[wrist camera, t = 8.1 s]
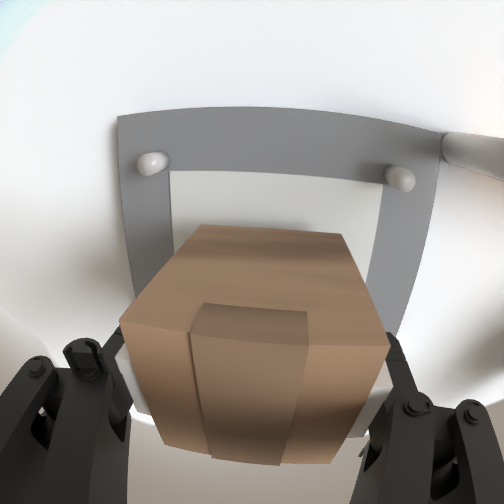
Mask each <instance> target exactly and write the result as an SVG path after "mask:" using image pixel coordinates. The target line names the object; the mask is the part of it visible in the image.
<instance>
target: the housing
mask: <svg viewBox="0 0 504 504" xmlns="http://www.w3.org/2000/svg"><path fill="white" fill-rule="evenodd" d="M441 140H442V142H441ZM440 151H441V152H442V155H443V157H444V159H445V160H446V161H447V162H448V163H450V164H453V165H456V166H460V167H463V168H466V169H469V170H473V171H476V172H479V173H482V174H485V175H488V176H490V177H493V178H496V179H499V180H502V181H504V138H498V137H491V136H484V135H475V134H466V133H456V132H450V133H447V134H446V135H445V136H444V137H443V139H442V134H440V133H437V132H433V131H429V130H426V129H422V128H417V127H413V126H409V125H405V124H400V123H395V122H390V121H385V120H380V119H375V118H369V117H363V116H356V115H350V114H342V113H335V112H326V111H316V110H305V109H292V108H274V107H205V108H187V109H174V110H163V111H153V112H145V113H137V114H130V115H123V116H118V160H119V178H120V191H121V202H122V212H123V221H124V229H125V237H126V244H127V251H128V257H129V263H130V269H131V275H132V281H133V286H134V291H135V296H136V298H137V297H138V296H139V294H140V293H141V292H142V291H143V290H144V288H145V287H146V286H147V285H148V284H149V283H150V281H151V280H152V279H153V278H154V277H155V276H156V274H157V273H158V272H159V271H160V270H161V269H162V267H163V266H164V265H165V264H166V263H167V262H168V261H169V259H170V258H171V257H172V256H173V255H174V254H175V253H176V252H177V250H178V249H179V248H180V247H181V246H182V245H183V244H184V243H185V241H186V240H187V239H188V238H189V237H190V236H191V235H192V234H193V233H194V232H195V230H196V229H197V228H198V227H199V226H200V225H201V224H206V225H224V226H241V227H257V228H273V229H287V230H301V231H314V232H327V233H339V234H342V236H343V238H344V240H345V242H346V244H347V246H348V248H349V250H350V253H351V255H352V257H353V259H354V261H355V263H356V265H357V267H358V269H359V272H360V274H361V276H362V278H363V280H364V283H365V285H366V287H367V289H368V292H369V294H370V296H371V299H372V301H373V303H374V306H375V308H376V310H377V313H378V315H379V318H380V320H381V322H382V325H383V327H384V330H385V332H391V334H392V335H393V336H394V337H395V338H396V335H397V332H398V329H399V327H400V324H401V321H402V319H403V316H404V313H405V310H406V307H407V304H408V301H409V298H410V295H411V292H412V289H413V286H414V282H415V279H416V276H417V272H418V269H419V265H420V261H421V258H422V254H423V250H424V246H425V241H426V237H427V233H428V228H429V224H430V219H431V214H432V208H433V203H434V197H435V191H436V184H437V177H438V170H439V161H440Z"/></svg>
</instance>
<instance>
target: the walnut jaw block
mask: <svg viewBox="0 0 504 504" xmlns="http://www.w3.org/2000/svg"><path fill="white" fill-rule="evenodd" d="M119 324H120V327H121V331H122V334H123V338H124V341H125V344H126V347H127V351H128V354H129V357H130V360H131V363H132V366H133V369H134V372H135V374H136V377H137V380H138V383H139V385H140V388H141V391H142V393H143V396H144V398H145V401H146V403H147V406H148V408H149V411H150V413H151V415H152V418H153V420H154V422H155V425H156V427H157V429H158V431H159V433H160V436H161V438H162V440H163V442H164V444H165V445H168V446H172V447H176V448H180V449H184V450H189V451H193V452H198V453H204V454H209V455H211V456H212V458H216V459H222V460H228V461H236V462H243V463H253V464H263V465H276V466H280V463H292V464H327V463H328V464H329V463H331V461H332V460H333V458H334V457H335V455H336V454H337V452H338V450H339V449H340V447H341V445H342V444H343V442H344V440H345V439H346V437H347V435H348V434H349V432H350V430H351V428H352V427H353V425H354V423H355V421H356V419H357V417H358V416H359V414H360V412H361V410H362V408H363V406H364V404H365V402H366V400H367V398H368V396H369V394H370V392H371V390H372V388H373V386H374V383H375V381H376V379H377V377H378V375H379V373H380V370H381V368H382V366H383V363H384V361H385V359H386V356H387V354H388V351H389V349H390V346H391V345H390V343H389V340H388V337H387V335H386V332H385V330H384V327H383V325H382V322H381V320H380V318H379V315H378V313H377V310H376V308H375V306H374V303H373V301H372V299H371V296H370V294H369V292H368V289H367V287H366V285H365V283H364V280H363V278H362V276H361V274H360V272H359V269H358V267H357V265H356V263H355V261H354V259H353V257H352V255H351V253H350V250H349V248H348V246H347V244H346V242H345V240H344V238H343V236H342V234H339V233H327V232H314V231H301V230H287V229H273V228H257V227H241V226H224V225H206V224H201V225H200V226H199V227H198V228H197V229H196V230H195V232H194V233H193V234H192V235H191V236H190V237H189V238H188V239H187V240H186V241H185V243H184V244H183V245H182V246H181V247H180V248H179V249H178V250H177V252H176V253H175V254H174V255H173V256H172V257H171V258H170V259H169V261H168V262H167V263H166V264H165V265H164V266H163V267H162V269H161V270H160V271H159V272H158V273H157V274H156V276H155V277H154V278H153V279H152V280H151V281H150V283H149V284H148V285H147V286H146V287H145V288H144V290H143V291H142V292H141V293H140V294H139V296H138V297H137V298H136V299H135V300H134V302H133V303H132V304H131V305H130V306H129V308H128V309H127V310H126V311H125V313H124V314H123V315H122V316H121V318H120V319H119Z"/></svg>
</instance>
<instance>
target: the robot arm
mask: <svg viewBox="0 0 504 504" xmlns="http://www.w3.org/2000/svg"><path fill="white" fill-rule="evenodd" d="M386 335H387V337H388V340H389V343H390V345H391V346H390V349H389V351H388V354H387V356H386V359H385V361H384V363H383V366H382V368H381V370H380V373H379V375H378V377H377V379H376V381H375V383H374V386H373V388H372V390H371V392H370V394H369V396H368V398H367V400H366V402H365V404H364V406H363V408H362V410H361V412H360V414H359V416H358V417H357V419H356V421H355V423H354V425H353V427H352V428H351V430H350V432H349V434H348V435H347V437H346V438H354V437H363V436H364V434H365V433H366V431H367V430H368V429H369V435H370V440H369V441H368V442H367V444H366V445H365V447H364V448H363V449H362V450H361V452H360V454H359V457H362V455H363V454H364V455H363V459H362V463H361V467H360V470H359V474H358V478H357V481H356V484H355V488H354V491H353V494H352V497H351V501H350V504H504V461H503V458H502V454H501V450H500V447H499V444H498V441H497V437H496V435H495V431H494V428H493V426H492V423H491V420H490V417H489V415H488V412H487V410H486V408H485V407H484V406H483V405H482V404H481V403H480V402H478V401H476V400H472V399H467V400H464V401H462V402H461V403H460V404H459V405H458V406H457V407H456V409H452V408H445V407H438V406H434V405H433V403H432V401H431V400H430V398H429V397H428V396H426V395H425V394H423V393H421V392H418V390H417V387H416V384H415V382H414V379H413V376H412V374H411V371H410V368H409V366H408V363H407V361H406V358H405V355H404V353H402V351H403V350H402V348H401V346H400V343H399V341H398V340H397V339H396V338H395V337H394V336H393V335H392V334H391V332H386ZM63 354H64V356H65V358H66V360H67V362H68V364H69V366H70V368H55V367H54V365H53V363H52V361H51V360H50V359H49V358H48V357H46V356H35V357H33V358H31V359H29V360H28V361H27V362H26V363H25V364H24V365H23V366H22V367H21V369H20V370H19V371H18V373H17V374H16V375H15V377H14V378H13V379H12V381H11V382H10V383H9V385H8V386H7V387H6V389H5V390H4V392H3V393H2V395H1V396H0V504H127V475H128V456H129V441H130V440H129V439H130V430H131V414H130V412H129V410H130V408H131V406H132V404H133V403H134V405H135V408H136V410H137V412H140V413H144V414H147V415H151V413H150V411H149V408H148V406H147V403H146V401H145V398H144V396H143V393H142V391H141V388H140V385H139V383H138V380H137V377H136V374H135V372H134V369H133V366H132V363H131V360H130V357H129V354H128V351H127V347H126V344H125V341H124V338H123V334H122V331H121V327H120V325H119V327H118V328H117V329H116V330H115V332H114V334H112V336H111V337H110V338H109V340H108V341H107V342H106V343H105V345H104V346H103V347H102V348H101V346H100V344H99V342H97V341H95V340H94V339H90V338H80V339H77V340H74V341H72V342H70V343H69V344H68V345H66V347H65V348H64V350H63ZM41 407H43V409H44V410H45V411H44V412H43V413H42V414H39V413H38V412H39V410H40V409H41ZM151 416H152V415H151Z"/></svg>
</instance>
